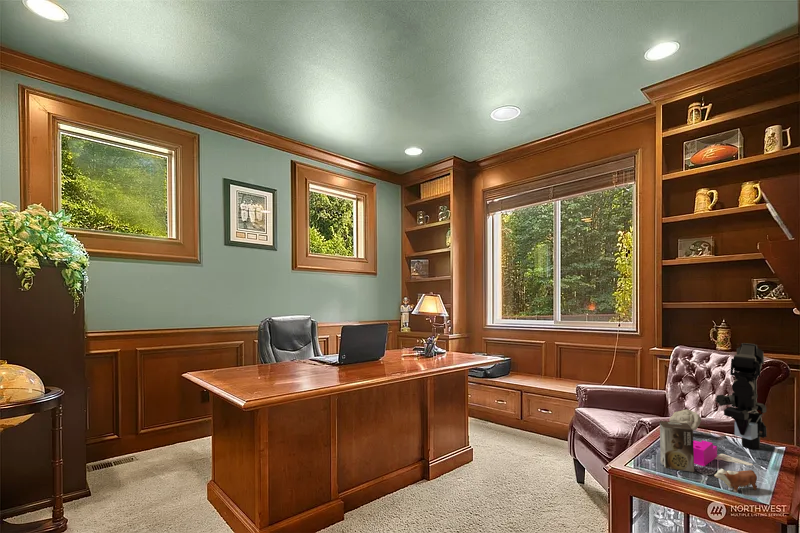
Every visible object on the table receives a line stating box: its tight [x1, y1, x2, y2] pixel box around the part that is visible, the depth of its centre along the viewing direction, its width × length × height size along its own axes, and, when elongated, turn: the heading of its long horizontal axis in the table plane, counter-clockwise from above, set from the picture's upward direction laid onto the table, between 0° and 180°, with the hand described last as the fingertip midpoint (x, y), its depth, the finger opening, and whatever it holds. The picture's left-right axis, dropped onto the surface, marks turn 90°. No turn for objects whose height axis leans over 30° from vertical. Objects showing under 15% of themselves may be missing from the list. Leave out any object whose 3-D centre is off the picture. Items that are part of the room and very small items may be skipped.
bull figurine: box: [714, 468, 758, 493], centre depth 132 cm, size 4×13×8 cm, turn 95°
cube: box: [734, 421, 758, 440], centre depth 151 cm, size 5×5×5 cm
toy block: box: [693, 439, 718, 467], centre depth 156 cm, size 15×6×8 cm
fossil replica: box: [668, 408, 702, 432], centre depth 181 cm, size 12×8×10 cm
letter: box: [714, 453, 754, 466], centre depth 153 cm, size 12×10×1 cm
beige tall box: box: [659, 420, 695, 473], centre depth 148 cm, size 9×6×16 cm
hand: (745, 433), depth 151 cm, fingers closed on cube, 5 cm apart
